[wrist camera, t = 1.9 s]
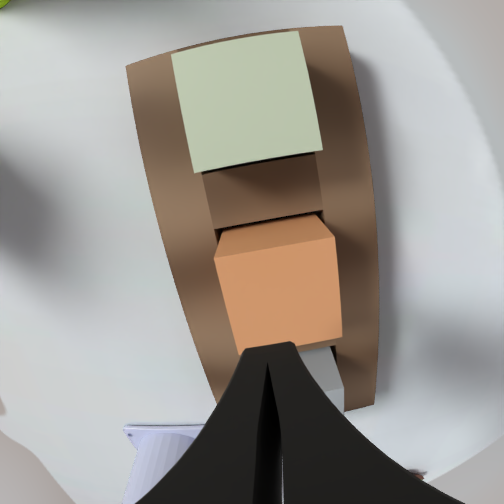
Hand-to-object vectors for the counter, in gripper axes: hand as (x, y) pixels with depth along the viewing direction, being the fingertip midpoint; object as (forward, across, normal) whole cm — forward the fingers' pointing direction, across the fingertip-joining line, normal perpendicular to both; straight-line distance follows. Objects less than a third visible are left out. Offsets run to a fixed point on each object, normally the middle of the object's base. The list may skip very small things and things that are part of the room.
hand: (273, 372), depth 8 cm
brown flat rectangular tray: (+10, -1, 0) cm, 10 cm away
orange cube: (+8, -1, 0) cm, 8 cm away
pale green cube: (+8, -1, -8) cm, 11 cm away
